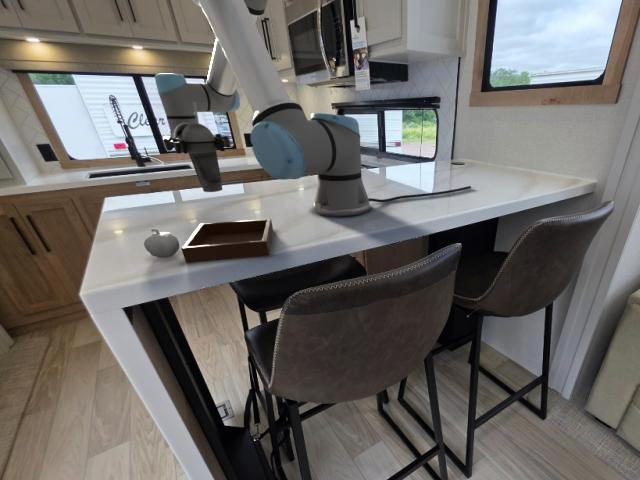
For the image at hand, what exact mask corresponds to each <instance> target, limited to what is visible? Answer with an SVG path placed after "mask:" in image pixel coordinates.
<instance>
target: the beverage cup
mask: <svg viewBox="0 0 640 480" xmlns="http://www.w3.org/2000/svg"><path fill="white" fill-rule="evenodd" d="M193 105H194V111H195V118H196V124H188V125H187V126H186V127H185V128H184V130H183V132H182V139H183V140H184V142H185V145H186V149H187V152H188V153H187V154H188V156H189V158H190V161H191V164H192V166H193V169H194V171H195V174H196V176H197V179H198V182H199V184H200V186H201V188H202V190H203V192H204V193H215V192H220V191H223V182H222V176H221V170H220V164H219V160H218V159H219V158H218V153H217V150H218V149H217V148H216V140H215V138H214V136H213V135H214V134H213V132H212V131H211V130H210V129H209V128H208V127H207V126H206V125H203V124H202V123H200V121H199V115H198V112H197V108H196V102H193Z"/></svg>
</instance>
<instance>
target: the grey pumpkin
mask: <svg viewBox="0 0 640 480" xmlns="http://www.w3.org/2000/svg"><path fill="white" fill-rule="evenodd" d="M150 231H151V232H153V233H151V234H150V235H148V236H147V237H146V238H145V240H144V242H143V246H144V249H145V250H146V251H147V252H148V253H149V254H150V255H151V256H153V257H156V258H162V259H165V258H171V257H173V256H174V255H175V254H176V253H177V252H178V251H179V249H180V241H179V239H178V238H177V236H175V235H174V234H173V233H171V232H169V231H160V230H159V229H158V228H151V229H150Z"/></svg>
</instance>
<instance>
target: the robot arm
mask: <svg viewBox="0 0 640 480" xmlns="http://www.w3.org/2000/svg"><path fill="white" fill-rule="evenodd" d="M190 1H191V2H192V3H194V4H195V5H197V6H199V7H201V10H202V12H203V13H204V15H205V18H206V19H207V21H208V23H209V26H210V27H211V29H212V31H213V34H214V36H215V38H216V39H215V42H214V47H213V52H212V57H211V61H210V65H209V70H208V74H207V79H206V82H205V83H199V82H187V80H186V77H185V76H184V75H183V74H181V73H157V74H155V75H154V81H155V85H156V89H157V94H158V95H159V99H160V101H161V104H162V108H163V110H164V113H165V116H166V120H167V124H168V127H169V134H170V135H164V136H162V141H163V144H164V147H165V150H166V151H168V152H170V151H173V149H174V150H175V153H176V154H177V155H178V154H182V153H183V154H184V155H185V154H186V155H187V154H189V153H188V152H187V149H186V145H185V142H184V140H183V139H182V132H183V130H184V128H185V127H186V126H187V125H188V124H196V118H195V111H194V105H193V102H196V108H197V113H230V112H236V111H238V110H239V109H240V107H241V102H240V101H241V97H240V94H239V92H238V90H237V86H238V84H239V87H240V88H241V90H242V92H243V94H244V96H245V98H246V100H247V102H248V105H249V107H250V108H251V110H252V113H253V114H254V115H253V118H252V120H251V126H252V128H251V131H250V143H251V144H252V147H251V150H252V152H253V156H254V157H255V159H256V161H257V162H258V164H259V166H260V167H261V168H262V169H263V170H264V172H266V173H267V174H268V175H269V176H271V177H272V178H275V179H277V180H281V181H285V180H299V179H300V178H304V177H310V176H314V175H317V184H316V185H317V186H316V190H315V196H314V200H313V208H314V212H315V213H317V214H319V215H322V216H327V217H352V216H359V215H362V214H364V213H366V212H368V211H369V210H370V208H371V207H370V202H373V203H374V202H375V203H389V202H392V201H396V200H400V199H401V200H403V199H410V198H421V197H422V198H423V197H432V196H437V195H438V196H439V195H446V194H450V193H456V192H461V191H465V190H469V189H472V186H471V185H468V186H464V187H459V188H455V189H449V190H443V191H442V190H441V191H436V192H428V193H417V194H406V195H398V196H394V197H389V198H384V199H379V198H369V196H368V193H367V190H366V187H365V186H364V182H363V178H362V177H363V175H362V153H361V149H362V148H361V134H360V126H359V122H358V120H357V119H356V118H354V117H352V116H348V115H340V114H333V113H323V112H322V113H321V112H313V113H311V114H310V120H308V118H307V116H306V113H305V111H304V109H303V108H302V105H301V104H300V103H299V102H296V101H294V100H292V99H291V98H290V95H289V94H288V91H287V89H286V87H285V85H284V83H283V81H282V78H281V76H280V75H279V72H278V70H277V68H276V65H275V64H274V61H273V59H272V58H271V55H270V53H269V51H268V49H267V47H266V44H265V42H264V40H263V38H262V36H261V34H260V32H259V29H258V28H257V26H256V24H257V20H258V18H259V17H262V16H264V14H265V11H266V7H267V4H268V0H190ZM213 136H214V138H215V140H216V149H217V150H218V151H220V152H226V150H225V148H232V146H231V142H230V138H229V137H230V136H228V135H222V134H221V133H215V134H213Z"/></svg>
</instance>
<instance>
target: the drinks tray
mask: <svg viewBox="0 0 640 480" xmlns="http://www.w3.org/2000/svg"><path fill="white" fill-rule="evenodd" d="M273 227H274V226H273V222H272V219H271V218H263V219H249V220H233V221H218V222H206V223H204V222H203V223H199V225H198V226H197V227H196V228H195V230H194V231H193V232H192V234H191V235H190V236H189V238H188V239H187V240H186V241H185V242H184V244H183V245H182V247H181V248H180V249H181V252H182V255H183V258H184V261H185V264H196V263H206V262H218V261H226V260H227V261H228V260H239V259H249V258H250V259H251V258H259V257H261V258H262V257H269V256H270V254H271V248H272V242H273V236H274V228H273Z"/></svg>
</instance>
